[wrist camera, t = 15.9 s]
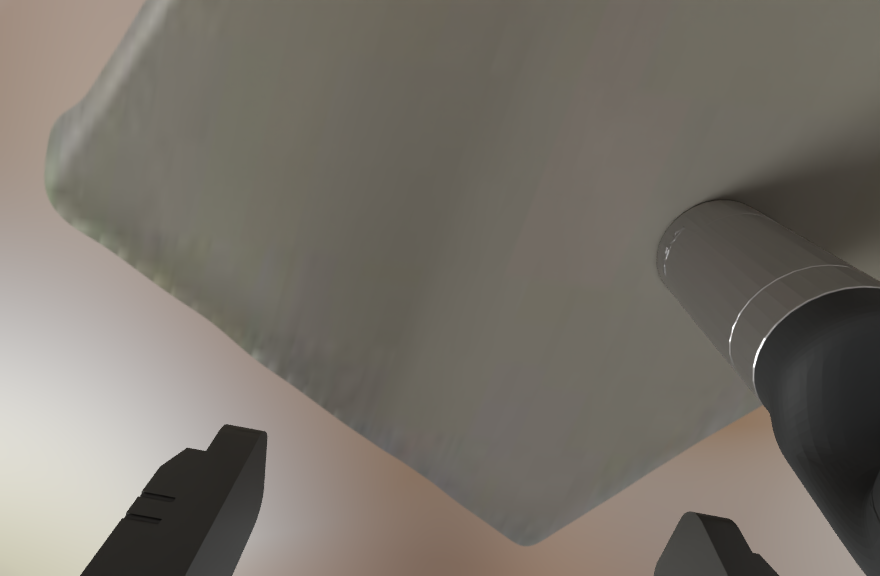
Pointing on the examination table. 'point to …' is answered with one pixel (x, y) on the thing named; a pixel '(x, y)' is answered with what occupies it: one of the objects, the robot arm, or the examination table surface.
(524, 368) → the examination table surface
